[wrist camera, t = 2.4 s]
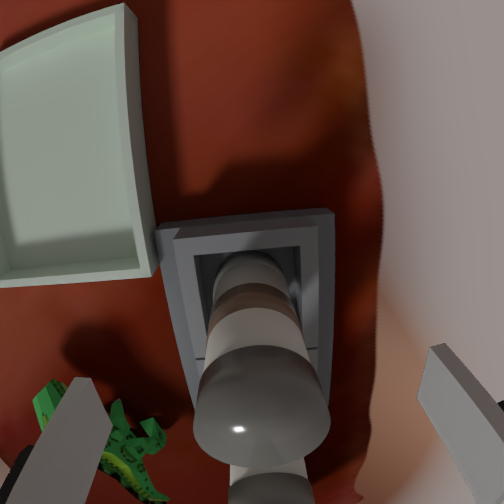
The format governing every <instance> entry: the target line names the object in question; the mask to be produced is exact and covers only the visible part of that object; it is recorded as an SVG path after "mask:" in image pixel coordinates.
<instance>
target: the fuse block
mask: <svg viewBox="0 0 504 504" xmlns="http://www.w3.org/2000/svg"><path fill="white" fill-rule="evenodd" d="M154 233H155V239H156V244H157V250H158V256H159V261H160V267H161V272H162V277H163V282H164V287H165V292H166V297H167V302H168V306H169V311H170V315H171V320H172V324H173V329H174V333H175V337H176V341H177V346H178V350H179V354H180V358H181V362H182V366H183V369H184V373H185V377H186V381H187V384H188V388H189V392H190V395H191V399H192V402H193V406H194V409H196V402H197V395H198V387H199V382H200V379H201V376H202V374H203V371H204V364H205V356H206V341H207V334H208V327H209V320H210V315H211V310H212V307H213V289H214V283H215V277H216V273H217V270H218V268H219V267H220V265H221V264H222V262H223V261H224V260H225V259H226V258H228V257H229V256H231V255H232V254H234V253H237V252H240V251H246V250H257V251H261V252H264V253H266V254H268V255H270V256H271V257H273V258H274V259H275V260H276V261H277V262H278V263H279V265H280V266H281V268H282V270H283V273H284V276H285V279H286V282H287V285H288V288H289V296H290V300H291V302H292V304H293V306H294V309H295V312H296V315H297V318H298V321H299V324H300V327H301V330H302V333H303V337H304V343H305V347H306V350H307V353H308V356H309V359H310V363H311V365H312V366H313V368H314V369H315V371H316V373H317V376H318V379H319V382H320V385H321V388H322V391H323V395H324V398H325V401H326V404H327V406H328V405H329V394H330V382H331V367H332V351H333V330H334V301H335V214H334V213H333V212H332V211H330V210H329V209H328V208H326V207H325V208H311V209H298V210H286V211H274V212H262V213H251V214H241V215H230V216H220V217H210V218H201V219H191V220H182V221H173V222H164V223H161V224H160V225H159V226H158V227H157V228H156V229H155V230H154ZM228 504H315V503H314V497H313V492H312V487H311V483H310V482H309V480H308V477H307V472H306V467H305V461H304V457H303V458H300V459H298V460H296V461H293V462H291V463H288V464H284V465H280V466H275V467H268V468H246V467H239V466H234V465H230V488H229V490H228Z"/></svg>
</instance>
